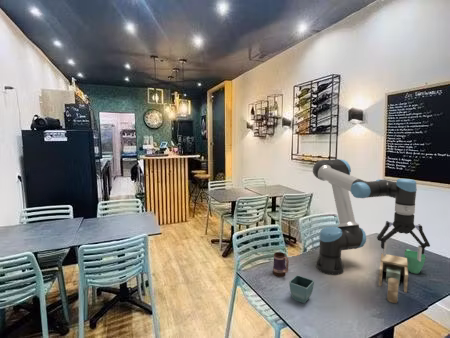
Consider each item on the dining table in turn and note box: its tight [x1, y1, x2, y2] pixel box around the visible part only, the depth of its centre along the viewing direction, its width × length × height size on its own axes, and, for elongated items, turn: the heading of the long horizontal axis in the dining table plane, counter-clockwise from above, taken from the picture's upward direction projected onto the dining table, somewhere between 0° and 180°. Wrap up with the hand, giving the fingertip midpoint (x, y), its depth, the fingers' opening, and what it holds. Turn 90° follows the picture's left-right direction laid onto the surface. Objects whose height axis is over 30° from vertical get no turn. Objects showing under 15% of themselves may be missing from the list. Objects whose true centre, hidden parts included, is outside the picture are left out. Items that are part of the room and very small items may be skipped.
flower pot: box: [288, 274, 315, 304], centre depth 124 cm, size 9×9×9 cm
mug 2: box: [404, 248, 427, 275], centre depth 151 cm, size 15×10×10 cm
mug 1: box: [272, 251, 290, 278], centre depth 146 cm, size 10×7×12 cm
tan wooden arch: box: [378, 252, 409, 294], centre depth 139 cm, size 12×19×10 cm, turn 147°
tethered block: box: [385, 266, 401, 304], centre depth 131 cm, size 6×25×10 cm, turn 147°
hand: (401, 257), depth 123 cm, fingers open, 13 cm apart
